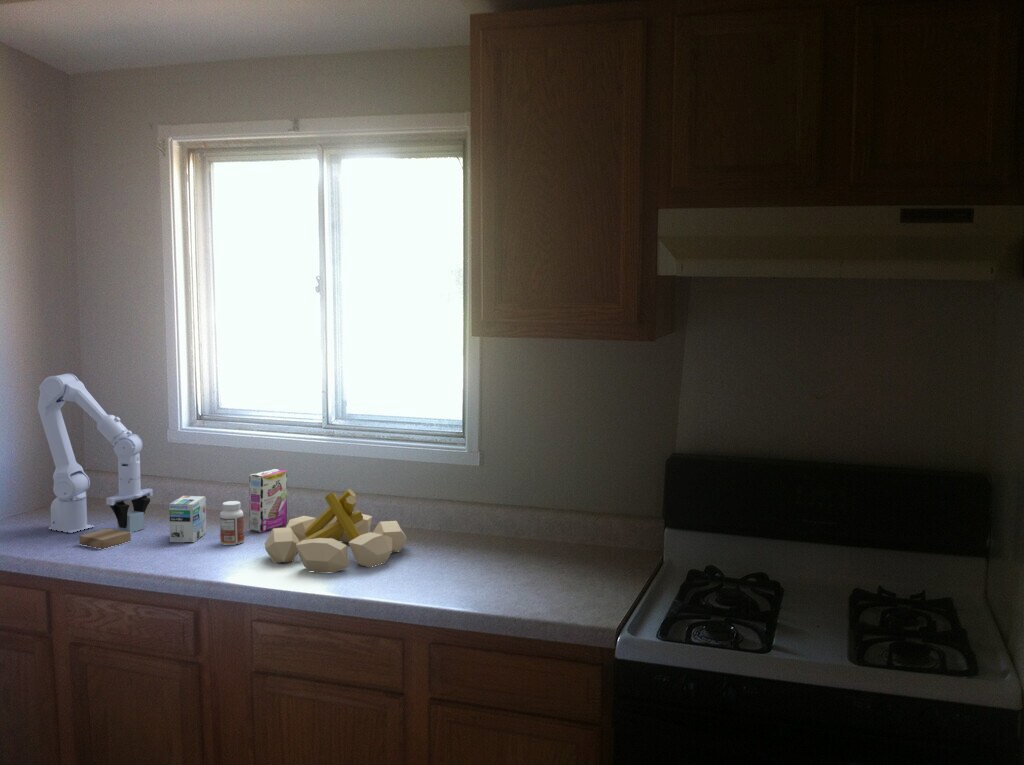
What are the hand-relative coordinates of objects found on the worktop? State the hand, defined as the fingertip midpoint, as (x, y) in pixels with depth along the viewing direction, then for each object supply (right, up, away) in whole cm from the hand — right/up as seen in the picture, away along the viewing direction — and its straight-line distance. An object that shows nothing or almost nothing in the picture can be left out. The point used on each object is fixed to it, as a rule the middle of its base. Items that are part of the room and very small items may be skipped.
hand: (130, 525), depth 267 cm
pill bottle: (+32, -3, -11) cm, 34 cm away
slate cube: (0, -1, 0) cm, 1 cm away
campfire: (+62, -5, -21) cm, 66 cm away
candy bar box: (+38, -2, +5) cm, 38 cm away
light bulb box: (+19, -3, -7) cm, 20 cm away
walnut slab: (-1, -3, -14) cm, 14 cm away
